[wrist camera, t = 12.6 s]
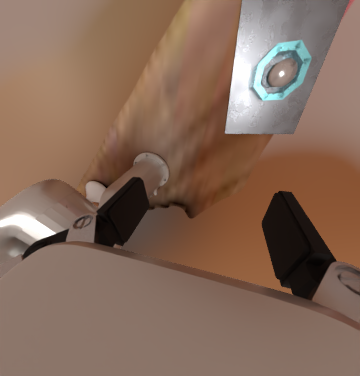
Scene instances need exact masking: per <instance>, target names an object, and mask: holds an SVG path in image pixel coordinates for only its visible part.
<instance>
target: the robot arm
mask: <svg viewBox="0 0 360 376" xmlns="http://www.w3.org/2000/svg"><path fill="white" fill-rule="evenodd" d="M168 178H169V168H168V166H167V164H166V162H165V161H164V160H163V159H162V158H161V157H160V156H158V155H157V154H154V153H151V152H144V153H141V154H139V155H138V156H137V157H136V158H135V160H134V164H133V167H132V168H130V169H129V170H128V171H127V172H126V173H124V174H123V175H122V176H121V177H120V178H118V179H117V180H116V181H115V182H114V183H112V184H111V185H110V186H109V187H108V188H107V189H106V190H105V191H104V192H103V194H102V196H101V198H100V202H99V208H98V207H96V206H95V205H94V204H93V203H91V202H90V201H89V200H88V199H87V198H85V197H84V196H83V195H82V194H81V193H79V192H78V191H77V190H76V189H74V188H73V187H72V186H70V185H69V184H67V183H66V182H64V181H61V180H57V179H48V180H44V181H41V182H38V183H36V184H34V185H32V186H30V187H28V188H26V189H25V190H23V191H22V192H20V193H18V194H17V195H16V196H14V197H13V198H12V199H10V200H9V201H8V202H6V203H5V204H4V205H3V206H1V207H0V376H360V269H359V268H357V267H355V266H353V265H351V264H348V263H345V262H339V261H336V259H335V258H334V256H333V255H332V253H331V252H330V250H329V249H328V247H327V245H326V244H325V242H324V241H323V239H322V238H321V236H320V235H319V233H318V232H317V230H316V229H315V227H314V226H313V224H312V222H311V221H310V219H309V218H308V217H307V215H306V214H305V212H304V210H303V209H302V207H301V206H300V204H299V203H298V201H297V200H296V198H295V197H294V195H293V194H292V192H285V191H279V192H278V193H275V194H274V196H273V198H272V200H271V203H270V205H269V207H268V210H267V212H266V214H265V216H264V218H263V220H262V228H263V232H264V236H265V239H266V243H267V247H268V250H269V253H270V258H271V261H272V265H273V269H274V272H275V276H276V278H277V279H279V280H280V283H281V286H282V287H287V288H291V290H292V293H293V295H291V294H288V293H285V292H281V291H277V290H274V289H271V288H267V287H263V286H259V285H256V284H253V283H249V282H245V281H241V280H238V279H234V278H230V277H226V276H222V275H219V274H215V273H211V272H207V271H204V270H200V269H196V268H192V267H188V266H184V265H180V264H177V263H172V262H169V261H165V260H161V259H157V258H153V257H149V256H145V255H141V254H138V253H134V252H129V251H125V250H122V249H120V248H121V246H123V245H124V243H125V242H127V241H128V239H129V238H130V236H131V235H132V233H133V232H134V230H135V229H136V227H137V225H138V224H139V222H140V221H141V219H142V218H143V216H144V214H145V213H146V211H147V210H148V208H149V201H148V200H149V198H150V197H152V196H153V193H154V195H157V194H158V192H157V189H158V187H159V186H162V185H164V184H165V183H166V182H167V180H168Z"/></svg>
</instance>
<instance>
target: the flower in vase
mask: <svg viewBox="0 0 360 376" xmlns="http://www.w3.org/2000/svg"><path fill="white" fill-rule="evenodd" d="M106 189H107V188H106V187H105V186H103V185H102V184H101V183H99V182H96V181H89V182H88V183H87V184H86V193H87V199H88V200H89V201H90V202H100V198H101V196H102V194H103V192H104V191H105V190H106Z"/></svg>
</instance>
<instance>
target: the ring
mask: <svg viewBox="0 0 360 376" xmlns="http://www.w3.org/2000/svg"><path fill="white" fill-rule="evenodd" d="M282 55H286V56H287V58H292V59H294V60H295V61H296V62H297V72H296V75H295V76H294V78H293V79H292V80H291V81H290V82H289V83H288V84H287V85H285V86H282V87H281V88H280V89H279V90H278V91H276V92H275V93H266V91H265V90H264V89H263V87H262V86H261V84H260V82H261V78H262V74H263V69H264V66H265V65H266V64H267V63H268V62H269V61H270V60H271V59H272V58H273V57H274V56H282ZM311 59H312V58H311V56H310V54H309V52H308V50H307V49H306V47H305V45H304V43H303V41H302V40H298V41H291V42H284V43H278V44H276V45H275V46H274V47H273V48H272V49H271V50H270V51H269V52H268V53H267V54H266V55H265V56H264V57H263V58H262V60H261V61H260V62H259V63H258V64H257V65H256V66H255V67H254V71H253V76H252V81H251V86H250V88H251V89H252V90H253V92H254V93H255V95H256V96H257V97H258V99H259V100H263V101H264V100H283V99H284V98H285V97H286V96H287V95H289V94H290V93H291V92H292V91H293V90H295V89H296V88H297V87H298V86H300V85H301V84H302V83H303V80H304V77H305V75H306V72H307V69H308V67H309V64H310V61H311Z"/></svg>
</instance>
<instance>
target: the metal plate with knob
mask: <svg viewBox="0 0 360 376" xmlns="http://www.w3.org/2000/svg"><path fill="white" fill-rule="evenodd" d="M348 2H349V0H242V5H241V12H240V20H239V28H238V36H237V43H236V51H235V59H234V66H233V74H232V82H231V89H230V97H229V105H228V112H227V120H226V128H225V134H293V133H294V131H295V129H296V127H297V124H298V122H299V120H300V117H301V115H302V112H303V110H304V107H305V105H306V103H307V100H308V98H309V96H310V93H311V91H312V88H313V86H314V84H315V81H316V79H317V76H318V74H319V72H320V69H321V67H322V65H323V62H324V60H325V57H326V55H327V53H328V50H329V48H330V45H331V43H332V40H333V38H334V36H335V33H336V31H337V29H338V26H339V24H340V21H341V19H342V17H343V14H344V12H345V10H346V7H347V5H348ZM298 40H302V41H303V43H304V45H305V47H306V49H307V50H308V52H309V54H310V56H311V58H312V59H311V61H310V64H309V67H308V69H307V72H306V75H305V77H304V80H303V83H302V84H301V85H300V86H298V87H297V88H296V89H295V90H293V91H292V92H291V93H290V94H289V95H287V96H286V97H285V98H284V99H283V100H264V101H263V100H259V99H258V97H257V96H256V95H255V93H254V92H253V90H252V89H251V88H250V86H251V81H252V76H253V71H254V67H255V66H256V65H257V64H258V63H259V62H260V61H261V60H262V58H263V57H264V56H265V55H266V54H267V53H268V52H269V51H270V50H271V49H272V48H273V47H274V46H275V45H276V44H278V43H284V42H291V41H298ZM296 72H297V62H296V61H295V60H294V59H292V58H287V56H286V55H282V56H274V57H273V58H272V59H271V60H270V61H269V62H268V63H267V64H266V65H265V66H264V69H263V74H262V78H261V82H260V84H261V86H262V87H263V89H264V90H265V91H266V93H275V92H276V91H278V90H279V89H280V88H281V87H282V86H285V85H287V84H288V83H289V82H290V81H291V80H292V79H293V78H294V76H295V75H296Z"/></svg>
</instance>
